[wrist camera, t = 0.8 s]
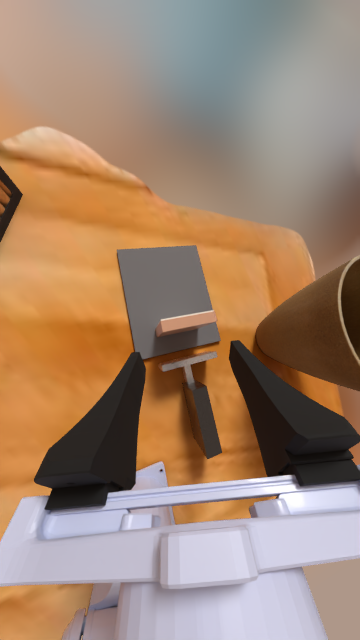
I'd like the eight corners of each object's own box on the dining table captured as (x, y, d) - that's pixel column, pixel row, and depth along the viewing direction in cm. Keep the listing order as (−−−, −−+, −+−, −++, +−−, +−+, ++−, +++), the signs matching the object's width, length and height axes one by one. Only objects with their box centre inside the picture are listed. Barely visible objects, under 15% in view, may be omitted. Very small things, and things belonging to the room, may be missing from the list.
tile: (198, 328, 27) (217, 321, 20) (156, 337, 25) (162, 332, 18) (195, 320, 27) (214, 309, 20) (154, 328, 25) (160, 319, 18)
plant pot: (303, 311, 34) (438, 277, 18) (301, 384, 30) (466, 418, 15) (241, 290, 31) (340, 230, 16) (231, 368, 27) (345, 389, 12)
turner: (223, 425, 25) (242, 443, 20) (174, 445, 23) (183, 470, 18) (205, 351, 27) (219, 351, 22) (158, 363, 25) (162, 366, 20)
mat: (219, 340, 28) (220, 340, 27) (137, 360, 24) (137, 360, 24) (195, 247, 30) (196, 245, 30) (117, 251, 27) (116, 249, 26)
